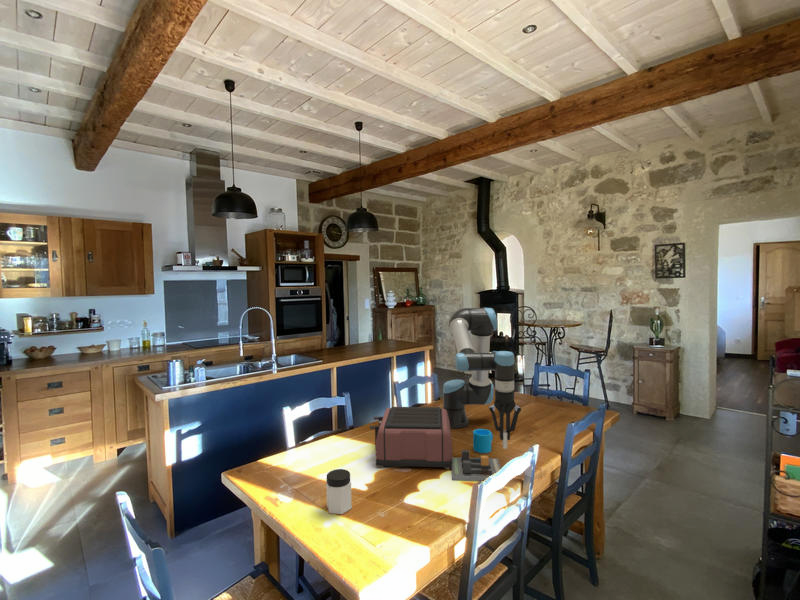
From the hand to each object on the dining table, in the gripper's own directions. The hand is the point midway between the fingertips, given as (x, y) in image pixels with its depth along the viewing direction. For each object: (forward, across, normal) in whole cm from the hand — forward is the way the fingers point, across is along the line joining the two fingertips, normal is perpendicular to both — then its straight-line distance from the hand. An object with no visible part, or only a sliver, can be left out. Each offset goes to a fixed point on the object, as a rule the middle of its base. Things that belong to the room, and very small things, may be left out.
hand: (504, 447), depth 165 cm
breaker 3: (+8, -8, 0) cm, 12 cm away
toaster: (+11, -39, +16) cm, 44 cm away
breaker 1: (+8, -16, +6) cm, 18 cm away
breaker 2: (+8, -16, -4) cm, 18 cm away
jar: (+11, -62, -30) cm, 69 cm away
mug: (+10, -6, +24) cm, 26 cm away
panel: (+10, -12, 0) cm, 16 cm away
